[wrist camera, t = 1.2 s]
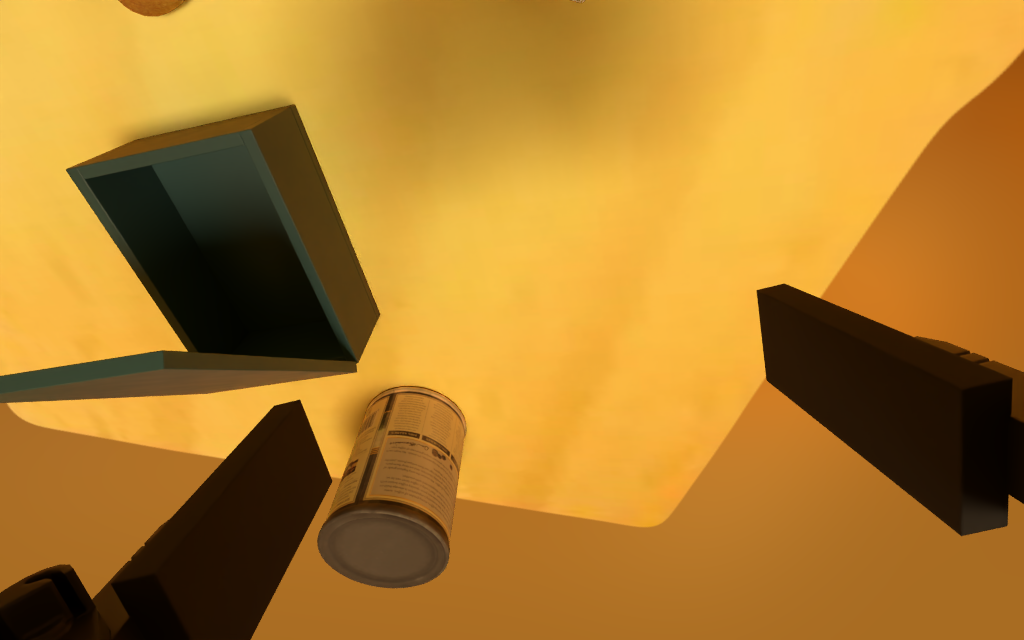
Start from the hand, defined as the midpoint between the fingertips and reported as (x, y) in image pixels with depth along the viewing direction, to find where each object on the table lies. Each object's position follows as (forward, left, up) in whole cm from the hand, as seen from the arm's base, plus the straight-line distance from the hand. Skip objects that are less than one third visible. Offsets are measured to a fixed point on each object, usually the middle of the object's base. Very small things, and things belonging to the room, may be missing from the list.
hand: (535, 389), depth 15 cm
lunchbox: (+3, -22, -27) cm, 35 cm away
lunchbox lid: (+6, -22, -13) cm, 26 cm away
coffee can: (+25, -17, -27) cm, 40 cm away
